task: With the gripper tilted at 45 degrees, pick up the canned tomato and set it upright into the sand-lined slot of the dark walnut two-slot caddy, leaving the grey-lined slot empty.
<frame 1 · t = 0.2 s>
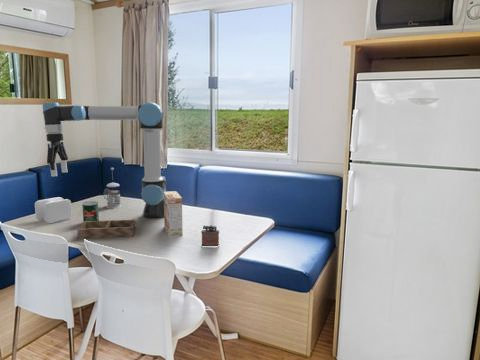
hand: (59, 174, 186), 27 cm above the table, tool pointing down, fingers open, 13 cm apart
french press: (112, 206, 227), on the table
lighter: (210, 246, 165), on the table
cable organizer: (54, 220, 198), on the table
coffeecake box: (173, 231, 184), on the table
slot caddy: (108, 232, 179), on the table
canned tomato: (91, 223, 195), on the table
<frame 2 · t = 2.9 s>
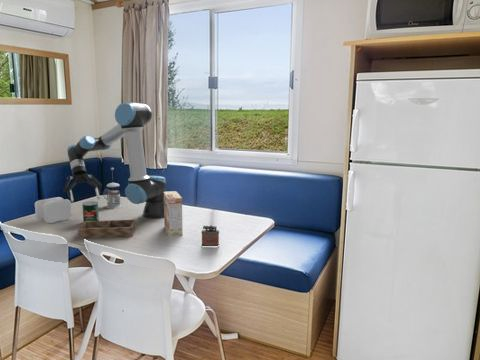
hand: (85, 199, 198), 11 cm above the table, tool tilted 45°, fingers open, 13 cm apart
nothing on the table moved.
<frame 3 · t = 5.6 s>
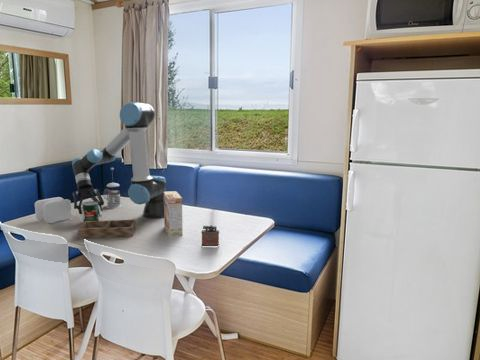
hand: (92, 217, 191), 4 cm above the table, tool tilted 45°, fingers closed on canned tomato, 8 cm apart
canned tomato: (91, 222, 195), on the table, touching gripper
everything else where it was.
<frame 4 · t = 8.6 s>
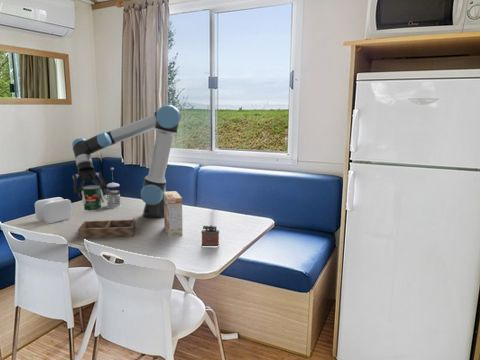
hand: (94, 202, 173), 16 cm above the table, tool tilted 45°, fingers closed on canned tomato, 8 cm apart
canned tomato: (92, 208, 177), point 12 cm above the table, touching gripper
everything else where it was.
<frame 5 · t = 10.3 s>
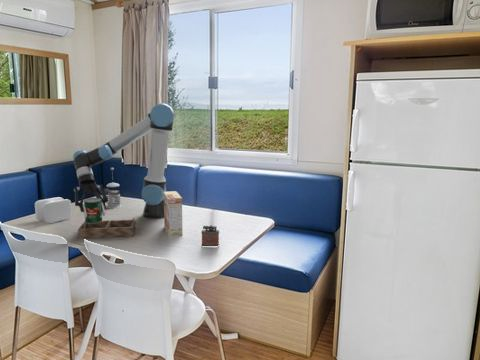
hand: (95, 215, 174), 10 cm above the table, tool tilted 45°, fingers closed on canned tomato, 8 cm apart
canned tomato: (93, 221, 177), point 6 cm above the table, touching gripper
everything else where it was.
when the fingers open (6 cm above the table, at t = 11.7 s): canned tomato drops 1 cm, resting on slot caddy.
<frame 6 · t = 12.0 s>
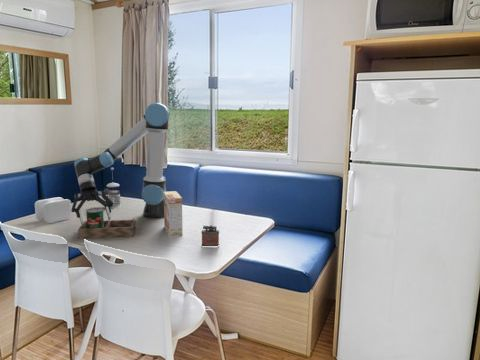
hand: (96, 220, 175), 7 cm above the table, tool tilted 45°, fingers open, 12 cm apart
canned tomato: (95, 231, 178), point 1 cm above the table, touching slot caddy
everything else where it was.
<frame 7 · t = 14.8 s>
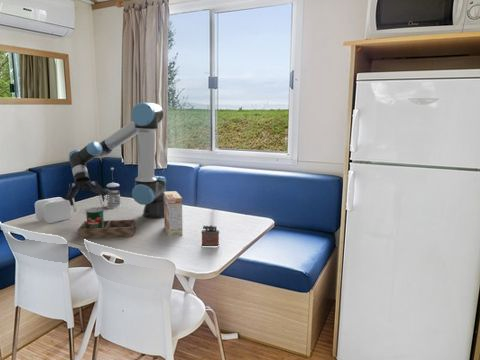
hand: (89, 208, 185), 10 cm above the table, tool tilted 45°, fingers open, 13 cm apart
nothing on the table moved.
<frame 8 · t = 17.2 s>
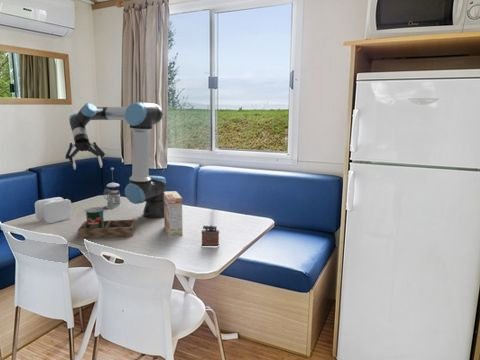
hand: (88, 167, 194), 30 cm above the table, tool tilted 45°, fingers open, 13 cm apart
nothing on the table moved.
at the end: canned tomato inside the target area on the slot caddy (0.1 cm from its centre), point 1.0 cm above the slot caddy's base; canned tomato tilted 0°; the gripper is holding nothing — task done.
